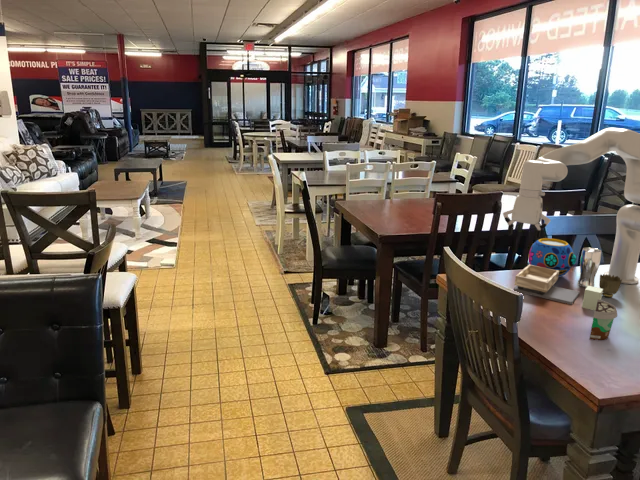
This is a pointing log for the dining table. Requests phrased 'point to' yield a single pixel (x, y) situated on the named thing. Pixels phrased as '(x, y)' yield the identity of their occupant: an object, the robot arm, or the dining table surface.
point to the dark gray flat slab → (553, 294)
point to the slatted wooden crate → (536, 278)
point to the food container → (602, 320)
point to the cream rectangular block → (591, 297)
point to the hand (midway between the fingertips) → (523, 237)
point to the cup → (609, 285)
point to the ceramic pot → (552, 255)
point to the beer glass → (589, 266)
